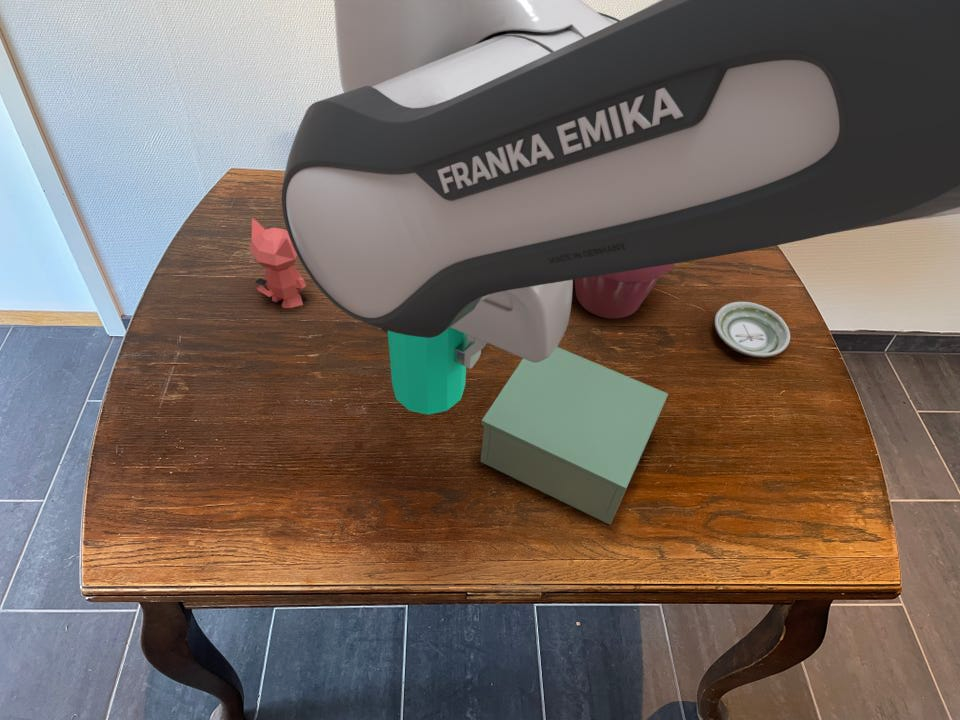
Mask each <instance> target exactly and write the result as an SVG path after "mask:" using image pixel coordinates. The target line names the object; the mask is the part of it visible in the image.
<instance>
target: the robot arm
mask: <svg viewBox="0 0 960 720" xmlns="http://www.w3.org/2000/svg"><path fill="white" fill-rule="evenodd" d="M333 2H334V3H333V6H334V23H335V24H334V25H335V26H334V27H335V38H336V49H337V51H336V52H337V60H338V69H339V78H340V85H341V88H342V92H343V93H340V94H336V95H333V96H330V97H327V98H325V99H321V100H318V101H315V102H313V103H312V104H311V105H310V106H309V107H308V108H307V109H306V111H305V113H304V115H303V117H302V120H301V122H300V123H299V126H298V129H297V131H296V134H295V135H294V136H295V137H294V139H293V142H292V145H291V148H290V151H289V154H288V157H287V162H286V166H285V170H284V175H283V181H282V188H281V209H282V216H283V220H284V224H285V227H286V231H288V234H289V237H290V240H291V242H292V245H293V247H294V249H295V252H296V254H297V256H298V258H297V259H299V261H300V263H301V265H302V267H303V269H304V270H305V272H306V273H307V274H308V276H309V277H310V279H311V280H312V282H313V283H314V284H315V285H316V287H317V288H318V290H320V291H321V293H323V295H324V296H325V297H326V299H328V300H329V301H330V302H331V303H332V304H333V305H335V307H337V308H338V309H340V311H342V312H343V313H344V314H346V315H347V316H349V317H351V318H352V319H355V320H357V321H359V322H362V323H365V324H367V325H370V326H373V327H375V328H376V329H378V330H380V331H383V332H385V333H388V331H391V332H395V333H399V334H404V335H410V336H417V337H424V338H432V337H436V336H438V335H440V334H441V333H443V332H444V331H445V330H447V329H448V328H449V327H451V328H453V329H455V330H458V331H460V332H463V333H465V334H466V335H465V338H464V340H463V343H461V344H460V345H459V346H458V347H456V348H455V349H454V356H455V357H454V361H455V362H456V363H458V364H460V365H462V366H465V367H466V369H469V370H471V369H473V367H474V366H475V365H476V364H477V362H478V360H479V359H480V357H481V354H482V350H483V349H484V348H485V347H486V346H487V344H489V345H491V346H493V347H496V348H498V349H501V350H503V351H505V352H507V353H509V354H512V355H515V356H516V357H519V358H522V359H523V358H524V359H526V360H528V361H531V362H535V363H537V362H540V361H542V360H545V359H547V358H549V357H550V356H551V355H552V353H553V352H554V350H555V349H556V347H559V344H560V343H561V341H562V339H563V338H564V336H565V333H566V332H567V330H568V329H567V328H568V326H569V321H570V318H571V317H570V316H571V310H572V301H573V288H574V287H573V285H574V284H573V283H574V281H575V279H581V278H587V277H593V276H599V275H605V274H612V273H618V272H624V271H630V270H637V269H643V268H649V267H655V266H662V265H668V264H674V263H675V264H680V263H685V262H692V261H696V260H697V261H698V260H704V259H709V258H715V257H722V256H727V255H732V254H739V253H743V252H749V251H750V252H751V251H755V250H759V249H765V248H766V249H767V248H770V247H776V246H780V245H785V244H789V243H795V242H801V241H804V240H808V239H814V238H819V237H822V236H826V235H831V234H837V233H842V232H848V231H854V230H858V229H865V228H871V227H876V226H883V225H889V224H893V223H902V222H909V221H917V220H926V219H933V218H940V217H946V216H953V215H959V214H960V0H657V1H655V2H654V3H652V4H650V5H648V6H646V7H644V8H643V9H641V10H639V11H637V12H635V13H633V14H631V15H629V16H627V17H624V18H623V19H621V20H620V19H619V18H617V17H615V16H611V15H608V14H606V13H602V12H600V11H596V10H595V9H593V8H592V7H591V6H589V4H587V3H586V2H584V1H583V0H334V1H333ZM675 264H674V265H675Z"/></svg>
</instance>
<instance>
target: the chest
mask: <svg viewBox="0 0 960 720" xmlns="http://www.w3.org/2000/svg"><path fill="white" fill-rule="evenodd" d="M663 407H664V406H663ZM663 407H662V409H663ZM659 416H660V415H659ZM659 416H658V418H659ZM656 424H657V422H656V423H655V425H654V427H655V426H656ZM652 433H653V431H652V432H651V434H650V436H651V435H652ZM649 439H650V438H649ZM649 439H648V441H649ZM648 441H647V443H646V445H647V444H648ZM645 449H646V447H645V448H644V450H645ZM644 450H643V452H642V454H641V456H642V455H643V453H644ZM480 453H481V454H480V461H479V462H480V463H482V464H485V465H486V466H489V467H490V468H491V469H492V468H493V469H494V470H496V471H499V472H501V473H502V474H505V475H507V476H509V477H511V478H513V479H515V480H516V481H519V482H521V483H523V484H525V485H527V486H529V487H532V488H533V489H536V490H538V491H539V492H542V493H544V494H546V495H548V496H550V497H552V498H554V499H556V500H558V501H560V502H563V504H566V505H568V506H571V507H572V508H574V509H577V510H579V511H581V512H583V513H585V514H587V515H589V516H591V517H593V518H595V519H597V520H599V521H602V522H604V523H605V524H608V525H609V526H611V525H612V523H613V520H614V518H615V516H616V514H617V511H618V509H619V507H620V505H621V503H622V500H623V498H624V496H625V493H626V491H627V489H628V486H629V485H628V486H627V488H626V490H625V492H623V491H621V490H619V489H616V488H614V487H612V486H610V485H608V484H606V483H604V482H602V481H599V480H597V479H595V478H593V477H591V476H589V475H587V474H585V473H582V472H580V471H578V470H576V469H574V468H572V467H570V466H568V465H565V464H563V463H561V462H559V461H557V460H555V459H553V458H551V457H548V456H546V455H544V454H542V453H540V452H538V451H536V450H534V449H531V448H529V447H527V446H525V445H523V444H521V443H519V442H517V441H514V440H512V439H510V438H508V437H506V436H504V435H502V434H500V433H497V432H495V431H493V430H491V429H489V428H487V427H485V426H483V433H482V442H481V452H480ZM640 459H641V458H640ZM640 459H639V461H638V463H637V465H638V464H639V462H640ZM636 469H637V467H636V468H635V470H634V472H633V474H634V473H635V471H636ZM632 478H633V476H632V477H631V479H630V481H629V483H630V482H631V480H632Z"/></svg>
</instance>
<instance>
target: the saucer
mask: <svg viewBox="0 0 960 720" xmlns="http://www.w3.org/2000/svg"><path fill="white" fill-rule="evenodd" d="M714 328H715V331H716V334H717V335H718V337H719V338H720V339H721V340H722V341H723V342H724V344H726V345H727V346H728V347H729V348H731V349H732V350H734V351H736V352H738V353H740V354H742V355H745V356H749V357H754V358H769V357H774V356H777V355H780V354H781V353H782V352H784V351H785V350H786V349H787V347H788V346H789V344H790V341H791V331H790V328H789V327H788V325H787V323H786V322H785V320H784V319H783V318H782V317H781V316H780V315H779V314H778V313H776V312H775V311H774V310H772V309H770V308H768V307H766V306H764V305H762V304H759V303H756V302H751V301H734V302H730V303H726V304H724V305H722V306H721V308H719V309H718V310H717V312H716V313H715V316H714Z"/></svg>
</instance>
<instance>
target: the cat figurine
mask: <svg viewBox="0 0 960 720" xmlns="http://www.w3.org/2000/svg"><path fill="white" fill-rule="evenodd" d="M248 250H249V251H250V253H251V254H252V257H254V259H255V261H256V262H257V263H258V264H260V265H261V267H263V268H266V270H265V273H264V279H263V278H258V279H256V280H255V281H254V282H255V283H256V284H258V287H257V288H256V290H257V291H259V292H260V293H262V294H263V295H265V296H266V297H268V298H271V302H275V303H277V302H279V301H281V300H282V303H281V307H282V308H283V309H293V308H296V307H300V306H303V305H304V304H305V303H306V302H307V300H308V298H307V297H306V295H304V294H303V293H301V292H300V290H303V289H305V287H306V286H307V284H306V281H305V279H304V278H303V276H302V275H301V273H300V272H299V270H298V269H297V267H296V265H295V263H296V262H297V260H298V259H299V258H298V256H297V254H296V252H295V249H294V247H293V245H292V242H291V240H290V237H289V234H288V231H287V229H283V228H281V227H280V228H279V227H269V228H265V227H264V226H262V225H261V224H260V223H259V222H258V221H257V220H256V219H255V218H254V217H251V241H250V245H249V248H248ZM265 285H266V288H265Z"/></svg>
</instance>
